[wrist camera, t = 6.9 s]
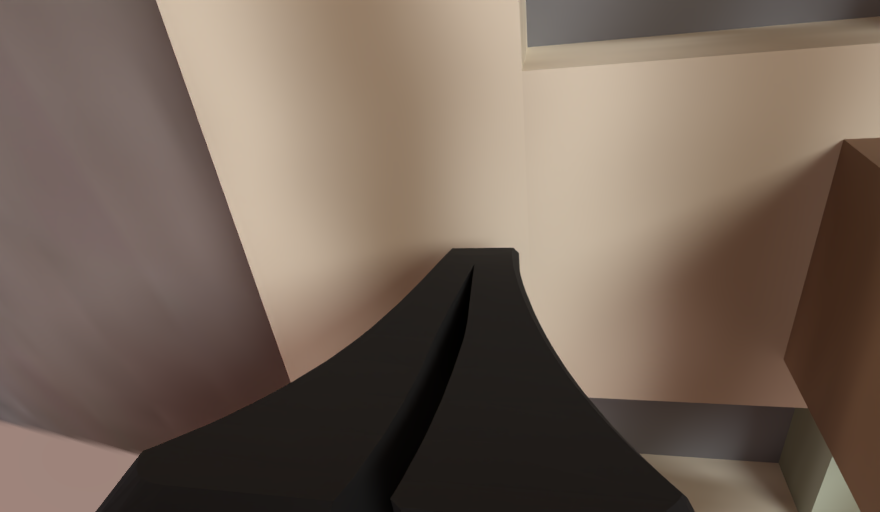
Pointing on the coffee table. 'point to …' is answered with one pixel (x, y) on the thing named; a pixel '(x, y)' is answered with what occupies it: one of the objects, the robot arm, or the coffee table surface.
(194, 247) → the coffee table surface
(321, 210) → the trap board
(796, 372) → the block
